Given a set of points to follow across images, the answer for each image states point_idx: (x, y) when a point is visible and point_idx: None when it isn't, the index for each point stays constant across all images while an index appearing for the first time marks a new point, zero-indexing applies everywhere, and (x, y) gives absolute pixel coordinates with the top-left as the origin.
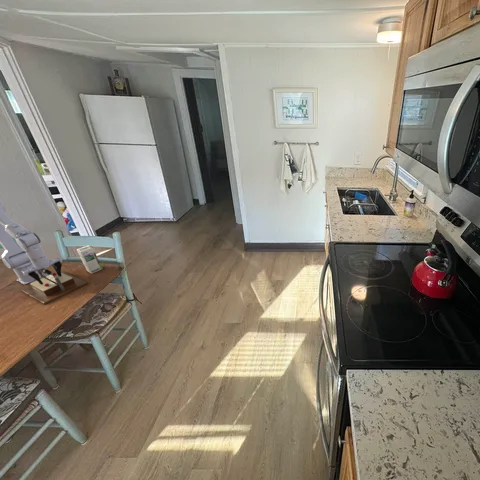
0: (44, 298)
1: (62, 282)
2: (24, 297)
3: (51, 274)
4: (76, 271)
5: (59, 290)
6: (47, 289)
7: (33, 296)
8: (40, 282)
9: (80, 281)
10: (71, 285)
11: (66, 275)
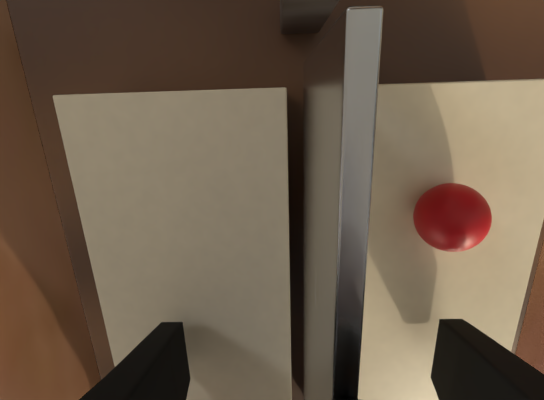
0: (536, 41)
1: (237, 91)
2: (540, 336)
3: (340, 324)
4: (46, 396)
5: None
6: (499, 83)
7: (539, 242)
8: (503, 349)
9: (54, 63)
10: (176, 68)
11: (106, 294)
